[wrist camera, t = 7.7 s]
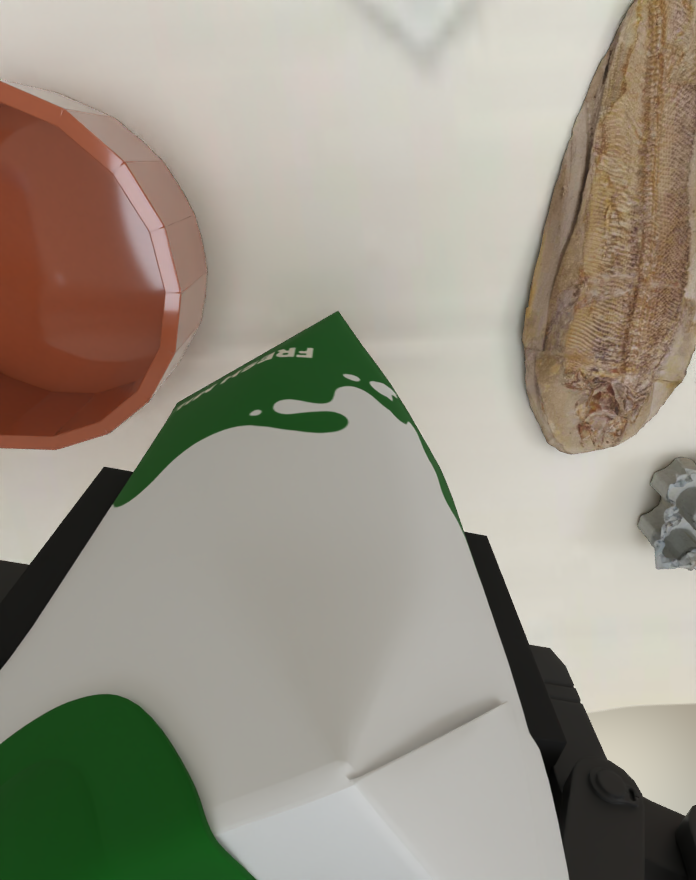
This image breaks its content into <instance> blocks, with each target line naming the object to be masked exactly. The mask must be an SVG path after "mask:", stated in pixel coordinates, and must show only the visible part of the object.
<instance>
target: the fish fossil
mask: <svg viewBox="0 0 696 880" xmlns="http://www.w3.org/2000/svg"><path fill="white" fill-rule="evenodd" d="M572 133H573V135H572V137H571V138H570V139H571V140H569V143H568V148H567V150H566V152H565V156H564V158H563V161H562V166H561V171H560V174H559V178H558V180H557V183H556V185H555V188H554V192H553V196H552V200H551V204H550V207H549V214H548V217H547V220H546V223H545V228H544V232H543V239H542V245H541V249H540V253H539V256H538V260H537V263H536V266H535V271H534V275H533V280H532V283H531V289H530V296H529V302H528V307H527V308H526V313H525V322H524V330H523V334H522V342H523V345H524V349H525V359H526V361H525V362H524V363H525V368H526V375H525V382H526V391H527V394H528V398H529V401H530V405H531V408H532V411H533V413H534V415H535V417H536V419H537V421H538V423H539V425H540V426H541V428H542V432H543V434H544V436H545V439H546V441H547V443H548V444H550V445H551V446H553V447H555V448H557V449H558V450H559V451H561V452H564V453H567V454H578V453H584V452H590V451H595V450H601V449H605V448H608V447H614V446H616V445H618V444H620V443H622V442H624V441H626V440H628V439H629V438H631V437H632V436H634V435H635V434H637V432H638V431H639V430H640V429H641V428H642V427H644V425H645V424H646V423H647V422H648V421H650V420H651V419H652V417H653V416H655V415H656V414H657V412H658V411H659V409H660V407H661V406H662V405H664V403H665V401H666V400H667V399H668V397H669V396H670V395H671V393H672V392H673V391H674V388H676V387H677V386H678V385H679V384H680V383H681V382H682V381H683V379H684V377H685V375H686V370H687V367H688V365H689V363H690V360H691V357H692V354H693V352H694V351H695V346H696V0H634V2H633V4H632V5H631V7H630V8H629V10H628V11H627V14H626V16H625V18H624V19H623V21H622V22H621V24H620V26H619V29H618V31H617V33H616V36H615V38H614V40H613V42H612V44H611V45H610V48H609V50H608V52H607V54H606V55H605V57H604V58H603V59H602V61H601V62H600V64H599V67H598V69H597V72H596V73H595V75H594V77H593V80H592V82H591V84H590V88H589V90H588V93H587V96H586V98H585V100H584V103H583V106H582V108H581V110H580V113H579V115H578V116H577V119H576V122H575V125H574V127H573V129H572Z"/></svg>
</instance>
